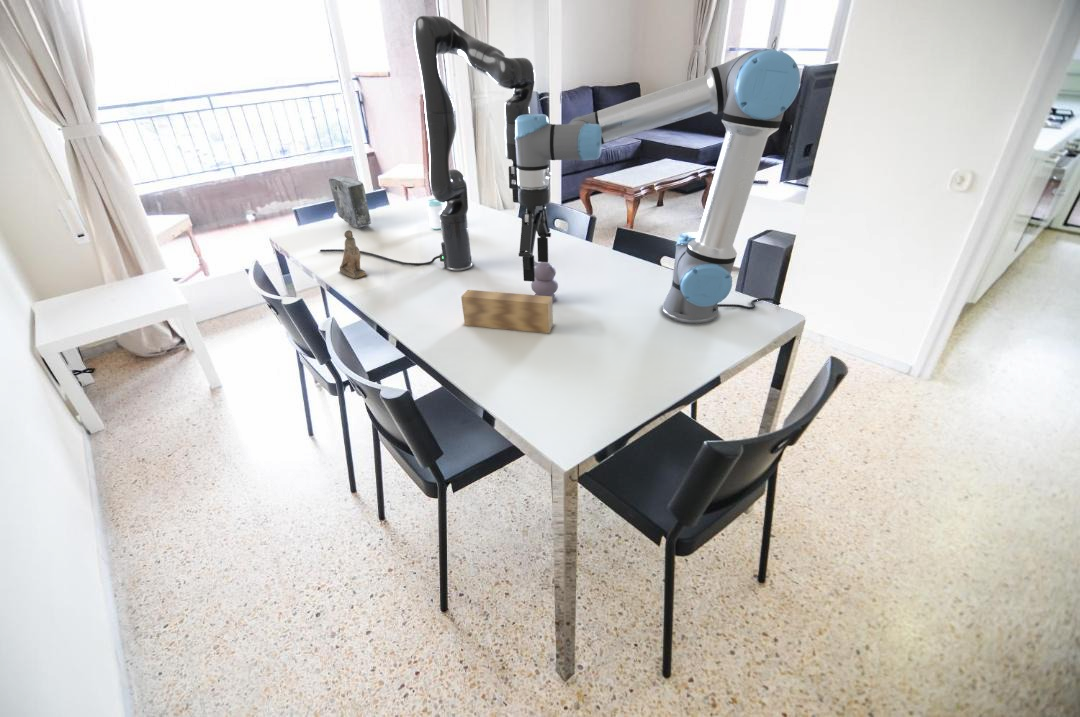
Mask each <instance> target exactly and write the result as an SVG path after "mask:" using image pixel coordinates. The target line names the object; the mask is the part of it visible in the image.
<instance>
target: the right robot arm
mask: <svg viewBox="0 0 1080 717" xmlns="http://www.w3.org/2000/svg"><path fill="white" fill-rule="evenodd" d="M800 85H801V73H800V69H799V66H798V64H797V62H796V60H795V59H794V58H793V57H792V56H791V55H789V53H786V52H784V51H783V50H780V49H776V48H764V49H753V50H749V51H747V52H745V53H742V54H741V55H738V56H737V57H735V58H732V59H731V60H728V61H726V62H724V63H721V64H719V65H716V66H713V67H710V68H708V69H707V70H706V73H705V74H704V75H702V76H698V77H696V78H693V79H690V80H687V81H686V80H685V81H684V82H681V83H678V84H675V85H672V86H668V87H665V88H662V89H659V90H657V91H654V92H650V93H648V94H645V95H642V96H639V97H636V98H633V99H630V100H626V101H623V102H621V103H618V104H614V105H611V106H609V107H606V108H603V109H600V110H597V111H594V112H591V113H588V114H585V115H578V116H575V117H573V118H571V119H570V121H569V122H568V123H561V124H560V123H558V124H557V123H550V121H549V117H548V116H547V115H546V114H544V113H530V114H525V115H520V116H518V117H517V118H516V121H515V144H516V158H517V185H518V186H519V189H518V200H519V203H518V204H519V205H521V206H522V207H523V206H524V207H525V212H524V213H522V214H521V230H520V241H519V242H520V243H519V252H518V257H521V258H522V271H523V272H522V274H523V276H522V277H523V281H524V282H531V283H532V282H534V281H535V268H534V262H535V255H534V248H535V243H536V242H535V241H537V263H540V262H548V263H549V238H552V233H551V229H550V222H549V217H548V211H547V205H548V204H549V203H550V201H551V200H550V187H549V184H550V177H551V176H552V172H550V170H549V167H550V163H549V162H550V161H583V162H587V161H596V160H599V158H600V157H601V153H602V145H604V144H608V143H611V142H614V141H617V140H620V139H624V138H627V137H630V136H634V135H637V134H641V133H643V132H646V131H650V130H654V129H656V128H659V127H663V126H666V125H670V124H673V123H676V122H679V121H682V120H685V119H689V118H692V117H696V116H699V115H702V114H705V113H709V112H711V113H712V114H714V115H718V114H720V113H723V114H722V118H721V123H722V124H723V126H724V128H725V134H724V138H723V140H722V141H723V142H722V145H721V148H720V152H719V155H718V159H717V163H716V167H715V170H714V172H713V177H712V180H711V184H710V187H709V191H708V194H707V197H706V202H705V205H704V210H703V213H702V216H701V220H700V223H699V227H698V230H697V231H689V232H688V231H687V232H683V233H681V234H679V235H678V237H677V240H676V243H675V254H674V264H673V271H672V279H671V280H672V282H671V283H672V284H671V287H670V289H669V291H668V292H667V295H666V297H665V299H664V301H663V305H662V313H663V315H664V316H665V317H666V318H668V319H669V320H672V321H673V322H677V323H681V324H687V325H703V324H709V323H711V322H713V321H715V320H716V319H717V317H718V315H719V314H718V313H719V308H741V309H745V310H754V309H755V308H756V303H758V302H763V301H770V302H773V303H776V304H777V305H781V304H782V303H781V302H780V301H779V300H777V299H775V298H772V297H761V298H755V299H752V300H751V301H750V305H751V306H748V305H744V304H737V303H721V302H722V301H724V300H725V299H726V298H727V297H728V296H729V294H730V293H731V292H732V291H731V290H732V287H733V277H732V271H733V268H734V265H735V261H736V259H737V256H738V252H737V250H736V249H735V246H734V243H735V240H736V237H737V234H738V231H739V228H740V225H741V221H742V219H743V216H744V212H745V209H746V206H747V203H748V200H749V198H750V193H751V191H752V188H753V184H754V181H755V178H756V175H757V173H758V169H759V166H760V163H761V160H762V157H763V154H764V151H765V148H766V145H767V142H768V138H769V137H770V136H771V135H772V134H774V133H776V132H777V131H778V130H779V129H780V125H781V123H782V120H783V117H784V114H785V111H787V109H789V107H790V106H791V105H792V104H793V102H794V101H795V99H796V97H797V95H798V93H799V90H800ZM536 235H537V238H536ZM757 300H758V301H757Z"/></svg>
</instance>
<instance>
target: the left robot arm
mask: <svg viewBox="0 0 1080 717" xmlns="http://www.w3.org/2000/svg"><path fill="white" fill-rule="evenodd" d="M413 40H414V46H415V52H416V57H417V61H418V66H419V72H420V77H421V78H420V79H421V86H422V94H423V102H424V104H423V105H424V114H425V115H424V116H425V125H426V132H427V141H428V154H429V185H430V192H431V194H432V196H433V197H434V199H436V200H437V201H439V202H443V203H445V204H444V208H443V209H442V210H441V211H440V223H441V229H440V230H441V235H442V242H441V243H440V246H441V250H442V251H441V253H440V254H439V255H436V256H434V257H433V258H432V259H431V260H430V261H427V262H406V261H405V262H404V261H400V260H397V259H393V258H389V257H386V256H383V255H379V254H376V253H372V252H368V251H364V250H359V251H360V254H363V255H366V256H367V255H368V256H372V257H375V258H378V259H381V260H386V261H389V262H392V263H396V264H400V265H403V266H404V265H405V266H426V265H431V264H433V263H434V262H435V261H436V260H437V259H439V262H443V267H444V269H445V270H449V271H454V272H459V271H467V270H469V269H471V268H472V266H473V258H472V257H473V256H472V250H471V242H470V234H469V224H468V216H467V214H468V210H469V202H468V201H469V199H468V186H467V182H466V178H465V176H464V175H463V173H462V172H461V171H460V170H458V169H455V168H454V169H453V168H452V169H450V154H451V151H452V150H451V149H452V147H453V143H454V140H455V136H456V132H457V116H456V114H457V113H456V106H455V102H454V100H453V97H452V95H451V93H450V92H449V91H450V90H448V88H447V86H446V85H445V83H444V81H443V78H442V76H441V73H440V68H439V60H438V55H445V54H452V55H456V56H459V57H462V58H463V59H464V60H465V61H466V63H467V65H469V66H470V67H471V68H472V69H473V70H475V71H477V72H478V73H482V74H483V75H485V76H488V77H489V78H490V79H491V80H492V81H493V82H494V83H496V84H497V85H498V86H500V87H501V88H504V89H507V90H513V92H512V96H511V97H510V98H508V99H507V100H506V101H505V102H504V142H505V143H504V144H505V158H506V159H508V160H511V161H512V165H509V166H508V187H509V189H510V190H511V191H512V202H513V203H517V204H519V200H518V189H519V186H518V185H517V158H516V144H515V121H516V118H517V117H518V116H520V115H525V114H531V102H532V98H533V93H534V87H535V81H536V72H535V68H534V65H533V63H532V62H531V60H530V59H528V58H526V57H507V56H506V55H505V53H504V52H503V51H502V50H501V49H499V48H497V47H495V46H493V45H491V44H489V43H487V42H484V41H482V40H480V39H478V38H475V37H474V36H472V35H470V34H469V33H467V32H466V31H464V30H463V29H462V28H460V27H459V26H458V25H457V24H456V23H454V21H451V20H450V19H448V18H446V17H445V16H441V15H440V16H439V15H438V16H437V15H421V16H418V17H417V18H416V20H415V22H414V26H413ZM344 249H345V248H344ZM344 249H341V248H338V249H337V248H334V249H332V248H331V249H329V248H328V249H319V252H320V253H325V252H326V253H327V252H328V253H329V252H340V253H341V252H342V253H344Z"/></svg>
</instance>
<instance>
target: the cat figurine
mask: <svg viewBox="0 0 1080 717" xmlns="http://www.w3.org/2000/svg"><path fill="white" fill-rule="evenodd" d="M534 268H535V281H534V282H532V281H531V283H530V286H531V290H532V291H533V292H534V295H539V296H552V303H553V302H554V301H555V300H556V298H555V297H556V292H557V291H558V289H559V283H558V281H557V279H556V278H555V276H556V273H557V272H556V267H555V266H554V265H553V264H552V263H550V262H549V261H548V262H538V261H534Z"/></svg>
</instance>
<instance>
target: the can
mask: <svg viewBox="0 0 1080 717" xmlns="http://www.w3.org/2000/svg"><path fill="white" fill-rule="evenodd" d="M444 206H445V204H444V202H439V201H437V200H436V199H435V198H432V199H428V201H427V204H426V207H427V211H428V212H427V213H428V219H429V226H430V228H431V229H433V230H442V229H441V223H440V211H441V210H442V209H443V208H444Z"/></svg>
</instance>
